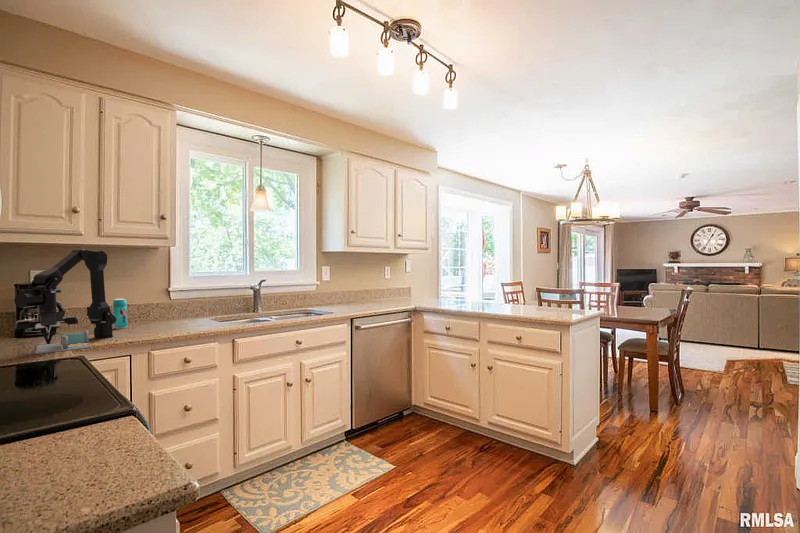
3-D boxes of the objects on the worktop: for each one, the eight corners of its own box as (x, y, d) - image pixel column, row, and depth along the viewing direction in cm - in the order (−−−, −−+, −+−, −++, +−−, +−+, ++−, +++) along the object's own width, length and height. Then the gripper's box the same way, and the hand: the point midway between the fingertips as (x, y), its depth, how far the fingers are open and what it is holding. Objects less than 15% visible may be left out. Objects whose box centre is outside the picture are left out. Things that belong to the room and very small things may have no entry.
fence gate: (60, 344, 177) (60, 333, 176) (65, 344, 178) (65, 333, 178) (63, 348, 170) (62, 337, 169) (68, 347, 171) (67, 336, 171)
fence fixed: (88, 342, 182) (88, 330, 182) (88, 342, 181) (88, 330, 181) (66, 344, 178) (66, 332, 178) (66, 345, 177) (66, 333, 176)
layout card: (88, 340, 187) (88, 339, 187) (89, 347, 173) (89, 346, 173) (37, 346, 177) (37, 345, 177) (34, 354, 163) (34, 353, 163)
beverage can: (120, 329, 214) (119, 299, 213) (111, 328, 215) (110, 299, 214) (130, 327, 219) (129, 298, 219) (120, 326, 221) (119, 298, 220)
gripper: (15, 308, 155) (17, 351, 156) (79, 304, 168) (80, 343, 169) (15, 306, 164) (16, 346, 164) (75, 302, 176) (76, 339, 177)
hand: (48, 344), depth 168 cm, fingers closed
